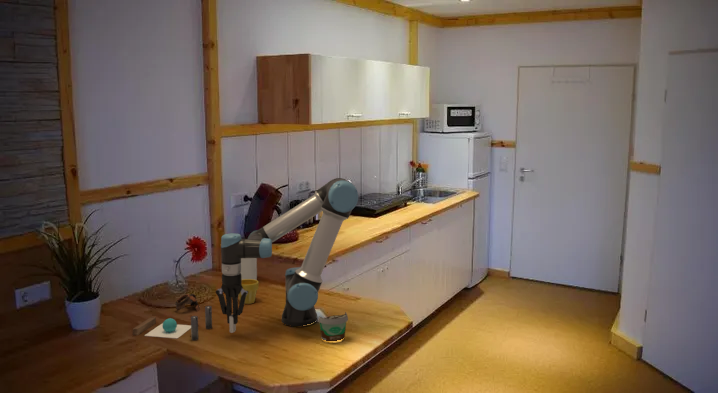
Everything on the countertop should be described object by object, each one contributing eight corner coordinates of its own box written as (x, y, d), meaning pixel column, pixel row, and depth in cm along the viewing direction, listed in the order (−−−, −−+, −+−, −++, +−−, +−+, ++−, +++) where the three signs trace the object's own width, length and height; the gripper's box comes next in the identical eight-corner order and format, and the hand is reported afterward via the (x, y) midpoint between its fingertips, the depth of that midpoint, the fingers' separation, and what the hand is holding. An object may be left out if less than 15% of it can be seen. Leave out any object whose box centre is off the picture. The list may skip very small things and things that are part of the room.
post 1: (199, 338, 229) (198, 316, 228) (196, 340, 226) (195, 318, 225) (193, 337, 229) (192, 315, 228) (190, 340, 227) (189, 317, 225)
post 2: (213, 327, 241) (212, 306, 240) (210, 329, 238) (209, 308, 237) (207, 326, 241) (206, 305, 240) (204, 328, 239) (203, 307, 238)
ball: (164, 325, 238) (175, 332, 238) (157, 329, 233) (169, 336, 232) (170, 314, 237) (181, 321, 237) (163, 318, 232) (175, 325, 232)
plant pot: (254, 297, 281) (253, 277, 280) (262, 303, 273) (261, 282, 271) (233, 300, 276) (232, 280, 275) (240, 306, 267) (240, 285, 266)
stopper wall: (155, 323, 245) (155, 317, 245) (137, 335, 231) (137, 329, 231) (151, 322, 245) (151, 317, 245) (132, 334, 232) (132, 328, 231)
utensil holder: (224, 285, 300) (223, 252, 298) (234, 278, 314) (234, 246, 312) (251, 287, 298) (251, 253, 295) (261, 279, 312) (260, 247, 310)
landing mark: (193, 326, 242) (193, 325, 242) (177, 338, 228) (177, 338, 228) (162, 323, 244) (162, 323, 244) (144, 335, 231) (144, 335, 231)
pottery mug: (197, 314, 258) (187, 300, 255) (180, 322, 260) (169, 308, 257) (205, 299, 269) (195, 285, 266) (188, 307, 271) (178, 293, 268)
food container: (324, 346, 222) (324, 321, 220) (317, 341, 227) (317, 316, 226) (353, 341, 227) (353, 316, 226) (346, 336, 233) (346, 311, 231)
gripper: (211, 274, 226) (213, 333, 229) (243, 276, 223) (244, 336, 227) (219, 269, 233) (221, 326, 236) (250, 271, 231) (251, 329, 234)
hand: (232, 331), depth 231 cm, fingers closed
